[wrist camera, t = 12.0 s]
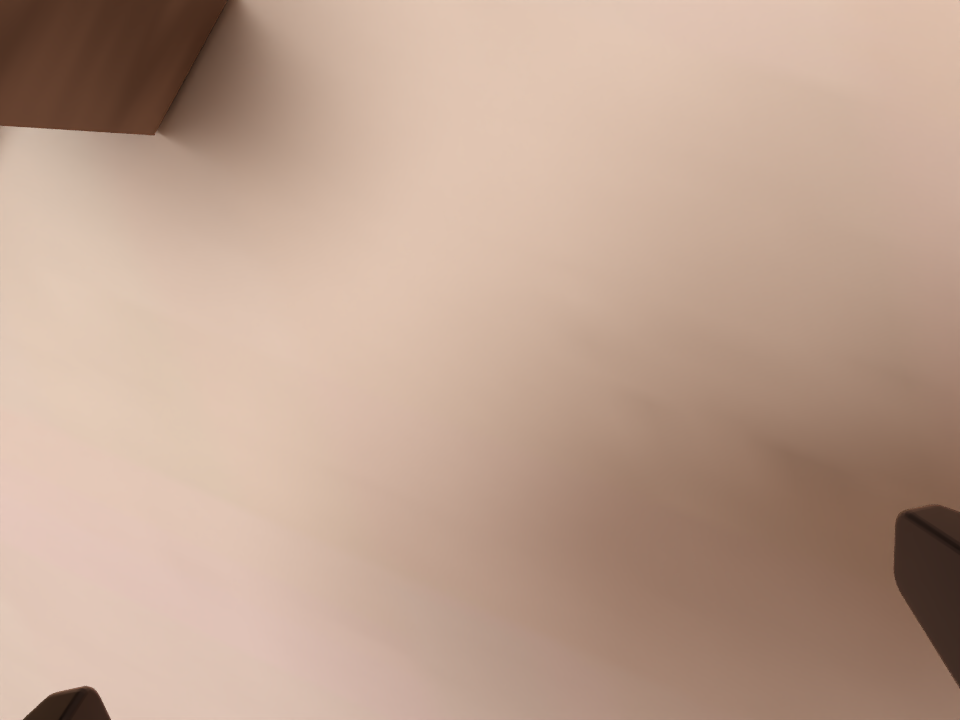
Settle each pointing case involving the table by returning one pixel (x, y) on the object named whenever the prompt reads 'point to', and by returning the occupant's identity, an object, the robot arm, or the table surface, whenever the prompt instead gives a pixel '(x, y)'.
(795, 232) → the table surface
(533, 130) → the table surface
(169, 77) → the brown wooden block
